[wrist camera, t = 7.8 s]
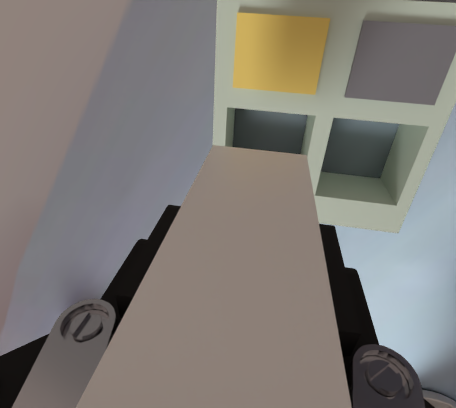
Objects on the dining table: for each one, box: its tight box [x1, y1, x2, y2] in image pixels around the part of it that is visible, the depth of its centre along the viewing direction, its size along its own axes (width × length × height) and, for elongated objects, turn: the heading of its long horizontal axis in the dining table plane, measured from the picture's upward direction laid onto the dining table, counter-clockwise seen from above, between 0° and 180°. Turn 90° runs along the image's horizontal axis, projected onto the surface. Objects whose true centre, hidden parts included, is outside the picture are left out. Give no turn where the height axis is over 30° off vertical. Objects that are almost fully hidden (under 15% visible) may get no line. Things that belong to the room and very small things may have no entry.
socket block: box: [213, 0, 456, 233], centre depth 19 cm, size 13×13×4 cm
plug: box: [76, 145, 352, 408], centre depth 8 cm, size 4×4×14 cm
